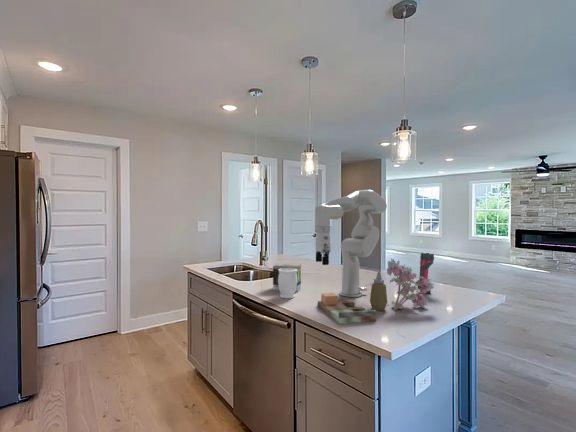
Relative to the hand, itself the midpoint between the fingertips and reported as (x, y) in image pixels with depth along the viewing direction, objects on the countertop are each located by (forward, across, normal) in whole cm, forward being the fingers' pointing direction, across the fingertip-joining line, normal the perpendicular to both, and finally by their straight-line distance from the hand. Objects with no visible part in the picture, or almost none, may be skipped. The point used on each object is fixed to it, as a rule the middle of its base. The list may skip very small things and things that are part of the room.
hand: (322, 263), depth 165 cm
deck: (+20, -18, -5) cm, 27 cm away
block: (+18, -9, -1) cm, 20 cm away
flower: (+21, -16, -40) cm, 48 cm away
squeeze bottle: (+21, -16, -23) cm, 35 cm away
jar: (+20, +15, +14) cm, 29 cm away
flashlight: (+21, +8, -68) cm, 71 cm away
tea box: (+21, +31, +11) cm, 39 cm away
